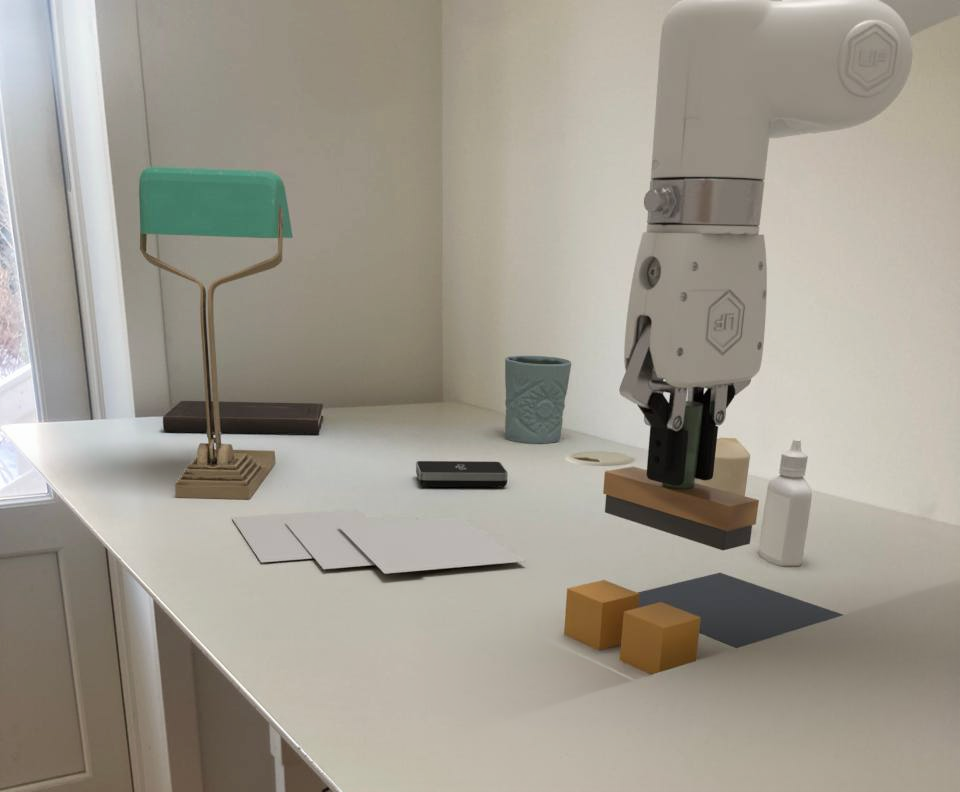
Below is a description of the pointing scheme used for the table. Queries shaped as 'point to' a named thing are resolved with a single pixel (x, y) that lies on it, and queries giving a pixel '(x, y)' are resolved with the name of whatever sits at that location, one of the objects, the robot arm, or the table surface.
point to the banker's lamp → (226, 213)
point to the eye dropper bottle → (786, 511)
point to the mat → (737, 608)
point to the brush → (682, 499)
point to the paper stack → (372, 541)
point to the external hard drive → (461, 474)
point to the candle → (729, 467)
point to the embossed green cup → (535, 398)
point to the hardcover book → (246, 417)
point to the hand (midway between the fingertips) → (679, 477)
